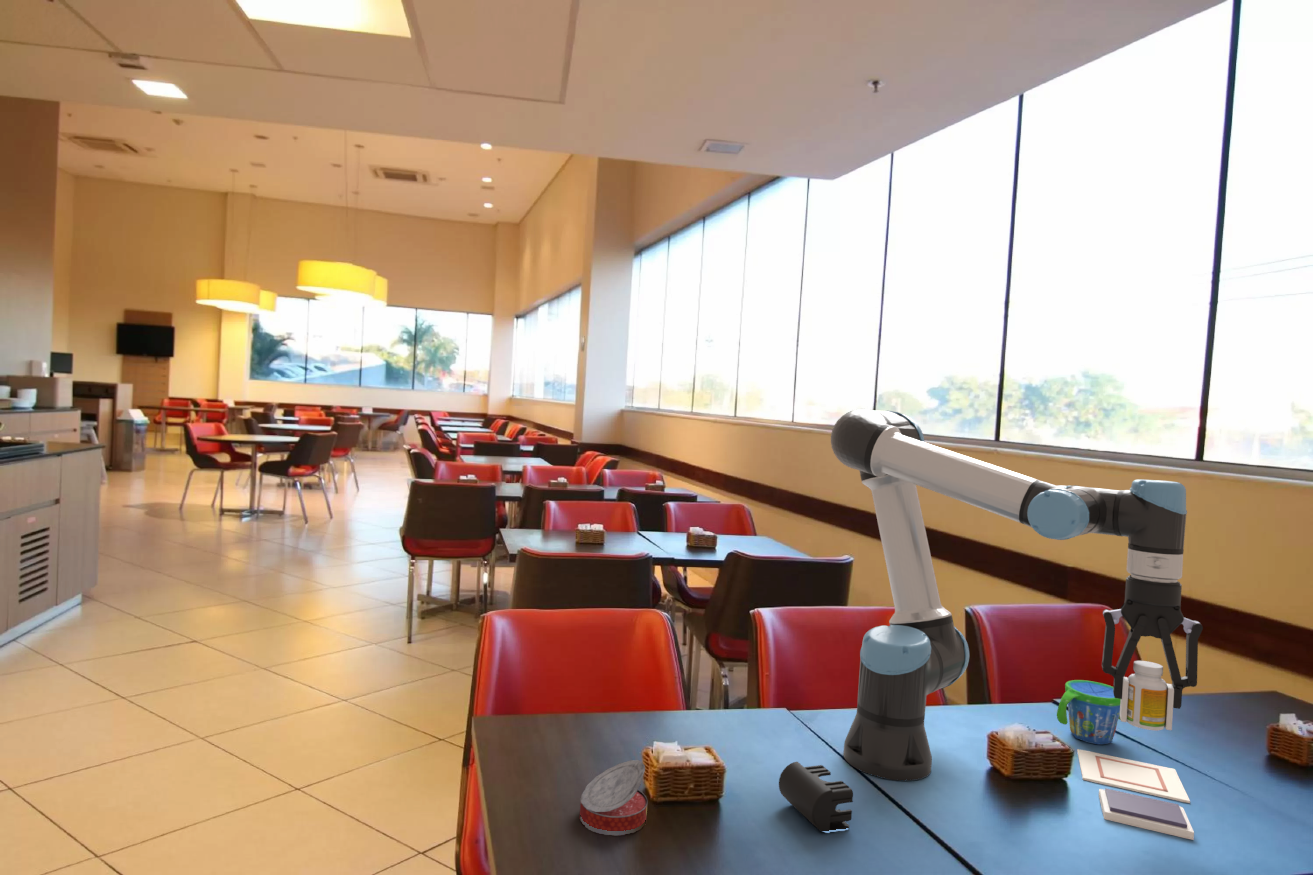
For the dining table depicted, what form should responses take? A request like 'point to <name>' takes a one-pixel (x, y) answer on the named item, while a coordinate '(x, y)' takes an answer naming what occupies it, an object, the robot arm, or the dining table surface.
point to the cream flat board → (1131, 775)
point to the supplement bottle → (1147, 696)
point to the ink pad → (1145, 813)
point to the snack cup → (1090, 711)
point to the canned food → (615, 798)
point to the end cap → (816, 796)
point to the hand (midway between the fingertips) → (1145, 722)
